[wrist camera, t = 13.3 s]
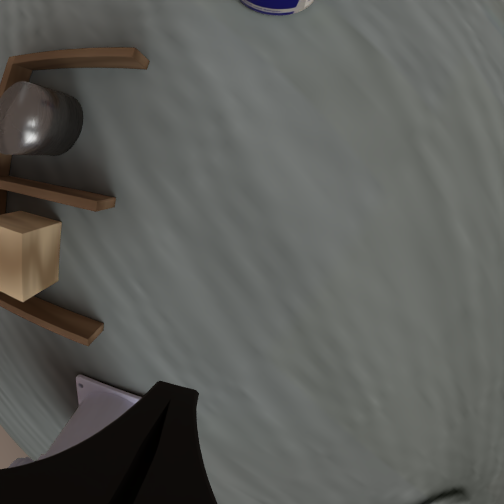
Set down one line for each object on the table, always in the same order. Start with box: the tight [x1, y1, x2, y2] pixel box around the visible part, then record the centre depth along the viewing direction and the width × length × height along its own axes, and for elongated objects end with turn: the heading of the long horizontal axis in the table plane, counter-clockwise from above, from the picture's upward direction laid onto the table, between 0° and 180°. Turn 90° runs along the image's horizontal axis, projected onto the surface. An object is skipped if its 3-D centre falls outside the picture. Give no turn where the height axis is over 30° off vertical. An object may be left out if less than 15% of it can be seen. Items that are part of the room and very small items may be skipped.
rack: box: [0, 47, 150, 346], centre depth 17 cm, size 19×11×2 cm, turn 166°
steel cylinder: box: [0, 81, 83, 156], centre depth 15 cm, size 4×4×5 cm
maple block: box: [0, 210, 62, 302], centre depth 17 cm, size 4×4×4 cm
